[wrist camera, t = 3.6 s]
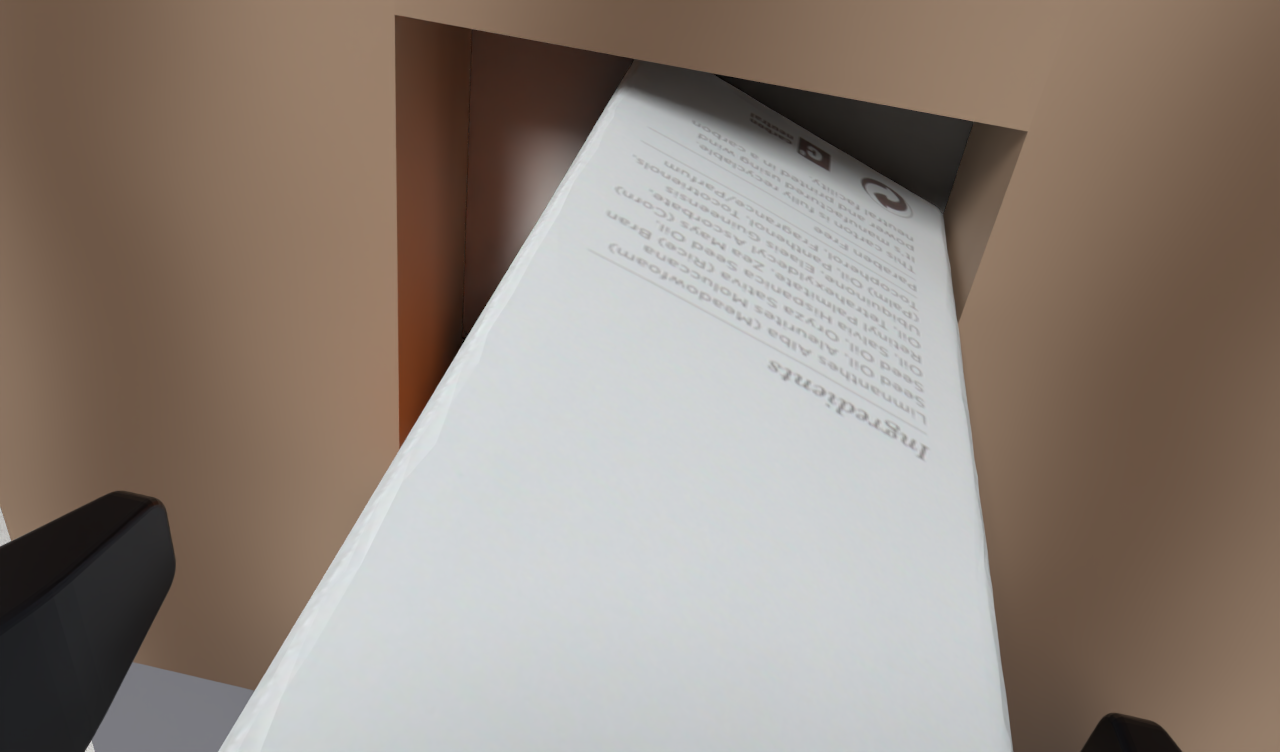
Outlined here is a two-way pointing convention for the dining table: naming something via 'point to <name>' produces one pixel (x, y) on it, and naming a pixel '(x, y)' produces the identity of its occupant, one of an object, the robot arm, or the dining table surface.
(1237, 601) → the holder block
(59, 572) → the robot arm
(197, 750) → the coaster
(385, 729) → the skincare box
